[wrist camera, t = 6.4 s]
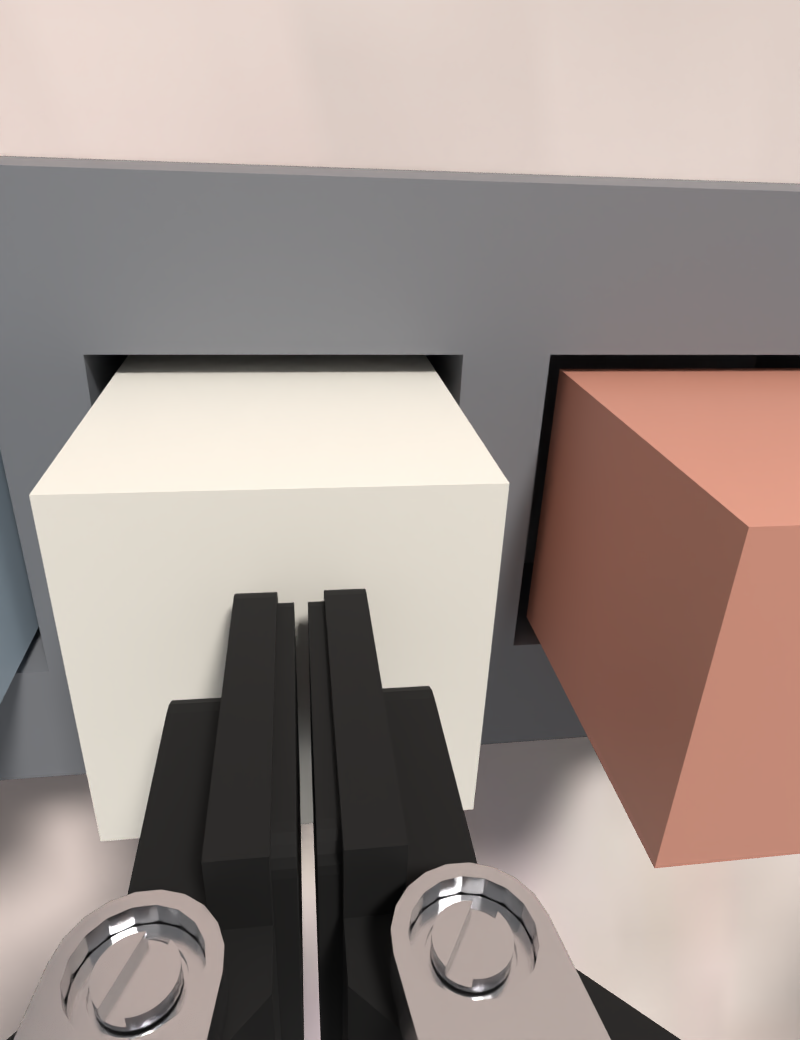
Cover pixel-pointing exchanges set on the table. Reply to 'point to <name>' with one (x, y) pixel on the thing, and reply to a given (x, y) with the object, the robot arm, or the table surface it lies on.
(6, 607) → the key blue
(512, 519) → the console
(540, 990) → the robot arm
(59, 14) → the table surface
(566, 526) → the key brick
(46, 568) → the key ivory
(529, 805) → the table surface
